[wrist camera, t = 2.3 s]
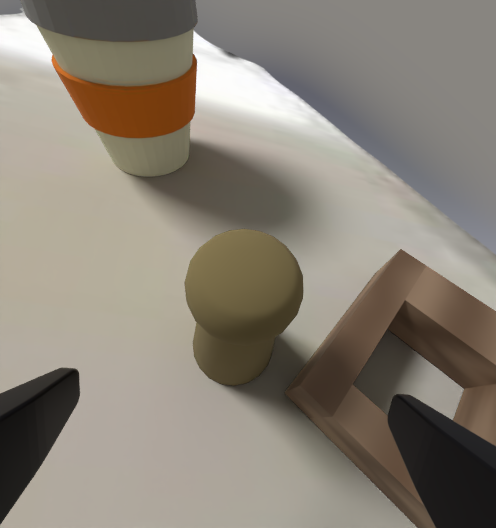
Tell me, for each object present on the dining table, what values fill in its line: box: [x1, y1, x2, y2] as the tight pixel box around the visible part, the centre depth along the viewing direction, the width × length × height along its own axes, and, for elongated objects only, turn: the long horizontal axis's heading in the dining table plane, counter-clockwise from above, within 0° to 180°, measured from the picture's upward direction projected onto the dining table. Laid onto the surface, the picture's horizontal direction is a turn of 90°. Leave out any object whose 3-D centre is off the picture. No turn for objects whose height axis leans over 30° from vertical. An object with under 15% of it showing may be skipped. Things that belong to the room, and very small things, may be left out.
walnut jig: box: [284, 249, 496, 528], centre depth 16 cm, size 20×14×5 cm
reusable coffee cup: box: [20, 0, 197, 177], centre depth 24 cm, size 12×12×15 cm
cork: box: [185, 229, 303, 386], centre depth 14 cm, size 6×6×11 cm
